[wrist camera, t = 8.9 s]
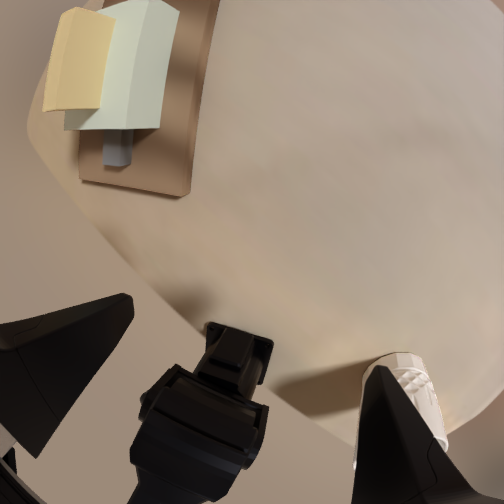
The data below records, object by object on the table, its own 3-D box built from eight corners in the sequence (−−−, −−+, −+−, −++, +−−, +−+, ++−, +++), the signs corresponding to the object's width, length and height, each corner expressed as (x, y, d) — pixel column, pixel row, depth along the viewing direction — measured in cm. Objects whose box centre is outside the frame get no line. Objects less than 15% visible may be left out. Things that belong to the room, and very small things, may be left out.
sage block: (159, 128, 19) (79, 132, 12) (97, 127, 20) (23, 136, 13) (179, 11, 14) (113, -26, 7) (114, 25, 16) (46, 8, 9)
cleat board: (190, 192, 22) (170, 201, 19) (89, 176, 24) (67, 182, 21) (227, -28, 13) (213, -45, 11) (117, -5, 15) (97, -13, 13)
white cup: (440, 346, 21) (465, 430, 12) (416, 398, 24) (424, 474, 15) (364, 345, 23) (366, 439, 14) (350, 398, 26) (343, 478, 17)
